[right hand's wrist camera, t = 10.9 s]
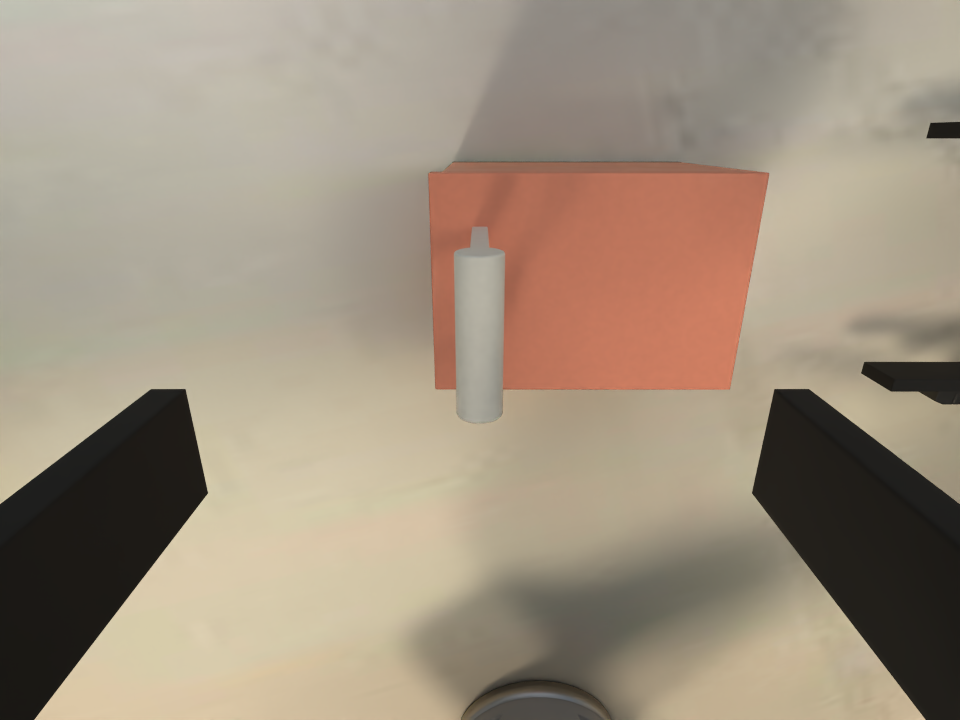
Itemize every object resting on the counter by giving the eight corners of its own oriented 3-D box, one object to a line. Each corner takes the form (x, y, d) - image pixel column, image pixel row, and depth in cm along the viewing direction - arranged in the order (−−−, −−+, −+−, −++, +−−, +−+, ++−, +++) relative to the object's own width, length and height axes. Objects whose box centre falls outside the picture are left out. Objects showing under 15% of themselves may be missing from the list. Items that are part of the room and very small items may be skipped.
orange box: (436, 382, 28) (420, 474, 21) (429, 171, 25) (406, 187, 17) (722, 382, 28) (814, 475, 21) (760, 171, 25) (890, 187, 17)
